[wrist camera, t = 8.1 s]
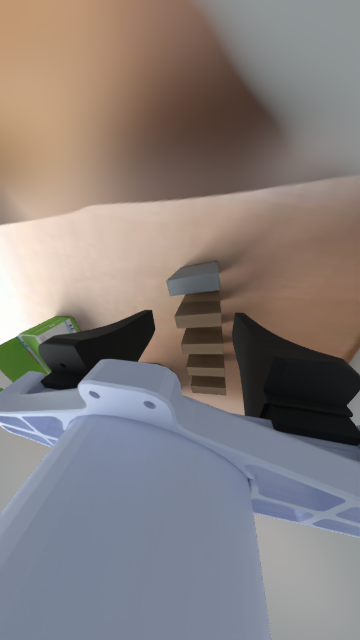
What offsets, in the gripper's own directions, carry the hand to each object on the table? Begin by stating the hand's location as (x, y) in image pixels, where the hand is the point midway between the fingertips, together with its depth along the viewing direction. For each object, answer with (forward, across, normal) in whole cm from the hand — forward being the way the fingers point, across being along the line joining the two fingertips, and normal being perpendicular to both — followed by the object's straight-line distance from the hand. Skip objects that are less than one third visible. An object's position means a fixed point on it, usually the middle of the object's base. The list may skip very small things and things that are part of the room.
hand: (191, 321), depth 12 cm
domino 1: (+10, 0, -2) cm, 10 cm away
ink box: (+10, +29, +11) cm, 32 cm away
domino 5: (+10, -2, +13) cm, 17 cm away
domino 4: (+10, -1, +10) cm, 14 cm away
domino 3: (+10, -1, +6) cm, 11 cm away
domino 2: (+10, 0, +2) cm, 10 cm away
